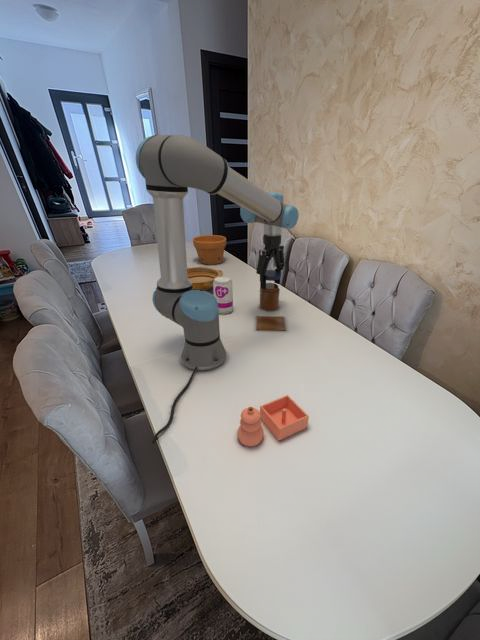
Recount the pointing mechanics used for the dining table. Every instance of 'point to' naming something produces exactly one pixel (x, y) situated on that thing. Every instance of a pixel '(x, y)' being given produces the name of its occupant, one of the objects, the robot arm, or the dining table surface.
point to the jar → (269, 297)
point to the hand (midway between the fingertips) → (270, 285)
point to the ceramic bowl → (203, 277)
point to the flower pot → (210, 248)
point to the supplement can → (223, 294)
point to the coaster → (270, 323)
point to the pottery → (271, 421)
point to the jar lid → (272, 275)
